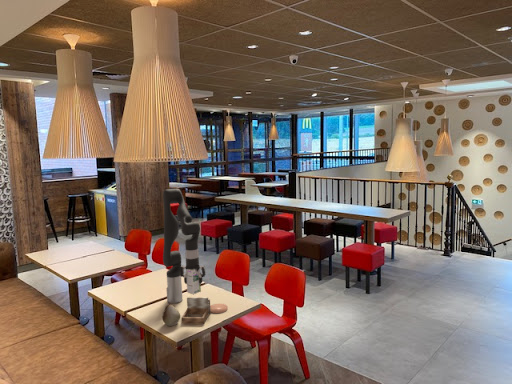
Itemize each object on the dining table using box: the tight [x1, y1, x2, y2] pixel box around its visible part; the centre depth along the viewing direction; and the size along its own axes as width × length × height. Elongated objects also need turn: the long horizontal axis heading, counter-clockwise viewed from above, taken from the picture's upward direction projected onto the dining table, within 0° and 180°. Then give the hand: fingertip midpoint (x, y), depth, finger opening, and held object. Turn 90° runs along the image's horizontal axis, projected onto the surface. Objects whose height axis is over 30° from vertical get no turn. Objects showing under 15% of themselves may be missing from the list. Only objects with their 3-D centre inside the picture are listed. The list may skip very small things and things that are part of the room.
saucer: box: [210, 303, 229, 314], centre depth 237 cm, size 12×12×1 cm
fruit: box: [161, 302, 181, 327], centre depth 218 cm, size 10×9×12 cm
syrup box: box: [185, 269, 202, 295], centre depth 222 cm, size 6×6×14 cm
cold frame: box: [180, 296, 212, 325], centre depth 225 cm, size 14×14×10 cm
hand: (193, 283), depth 222 cm, fingers closed on syrup box, 8 cm apart
